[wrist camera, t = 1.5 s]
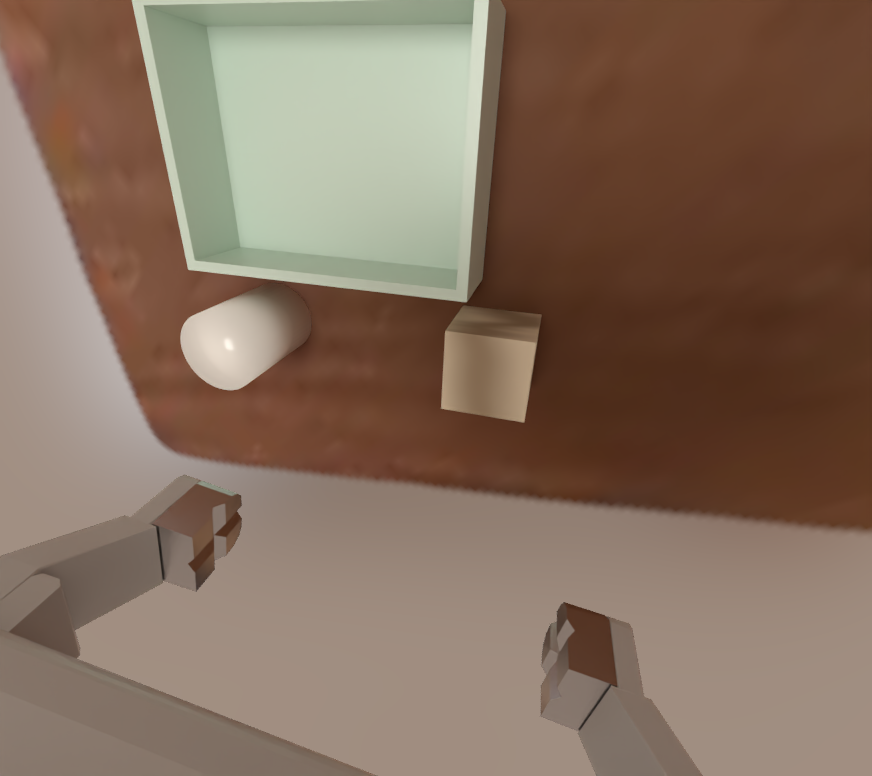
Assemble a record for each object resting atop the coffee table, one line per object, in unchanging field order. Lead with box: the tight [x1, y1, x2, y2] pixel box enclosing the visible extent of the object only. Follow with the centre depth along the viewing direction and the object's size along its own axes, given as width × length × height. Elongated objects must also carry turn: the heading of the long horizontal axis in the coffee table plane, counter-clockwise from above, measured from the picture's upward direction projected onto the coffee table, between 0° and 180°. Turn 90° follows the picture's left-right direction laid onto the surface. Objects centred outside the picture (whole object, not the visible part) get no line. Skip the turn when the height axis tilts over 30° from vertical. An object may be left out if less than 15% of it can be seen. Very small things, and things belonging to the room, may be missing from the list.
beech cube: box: [441, 305, 542, 422], centre depth 28 cm, size 5×5×5 cm
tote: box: [132, 0, 506, 302], centre depth 25 cm, size 17×13×5 cm
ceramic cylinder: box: [181, 283, 312, 390], centre depth 31 cm, size 5×5×7 cm
